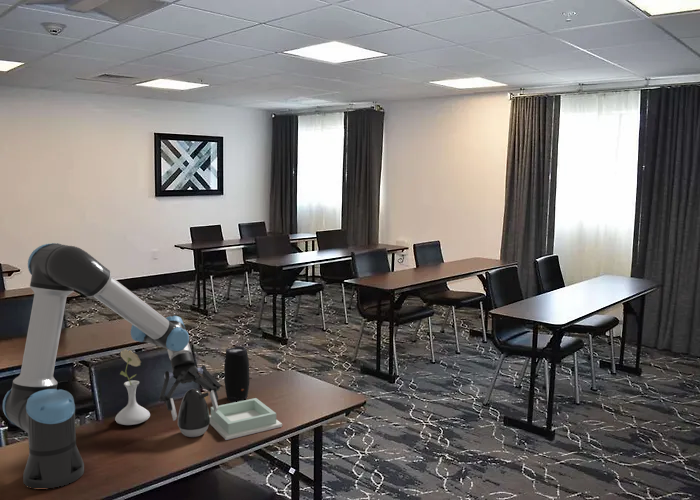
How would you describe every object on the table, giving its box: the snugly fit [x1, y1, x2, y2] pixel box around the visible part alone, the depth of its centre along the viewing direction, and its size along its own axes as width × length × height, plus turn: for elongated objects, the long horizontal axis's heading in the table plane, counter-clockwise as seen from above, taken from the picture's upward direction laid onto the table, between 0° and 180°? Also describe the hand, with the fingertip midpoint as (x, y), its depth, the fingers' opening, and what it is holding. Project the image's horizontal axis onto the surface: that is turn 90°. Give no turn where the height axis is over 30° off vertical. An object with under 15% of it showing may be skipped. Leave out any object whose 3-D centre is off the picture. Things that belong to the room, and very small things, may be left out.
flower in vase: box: [114, 348, 151, 426], centre depth 200 cm, size 13×11×25 cm
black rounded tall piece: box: [177, 388, 210, 438], centre depth 190 cm, size 10×10×15 cm
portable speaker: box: [223, 345, 250, 403], centre depth 222 cm, size 9×9×20 cm
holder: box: [209, 397, 283, 441], centre depth 200 cm, size 20×20×4 cm
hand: (196, 414), depth 188 cm, fingers open, 13 cm apart
